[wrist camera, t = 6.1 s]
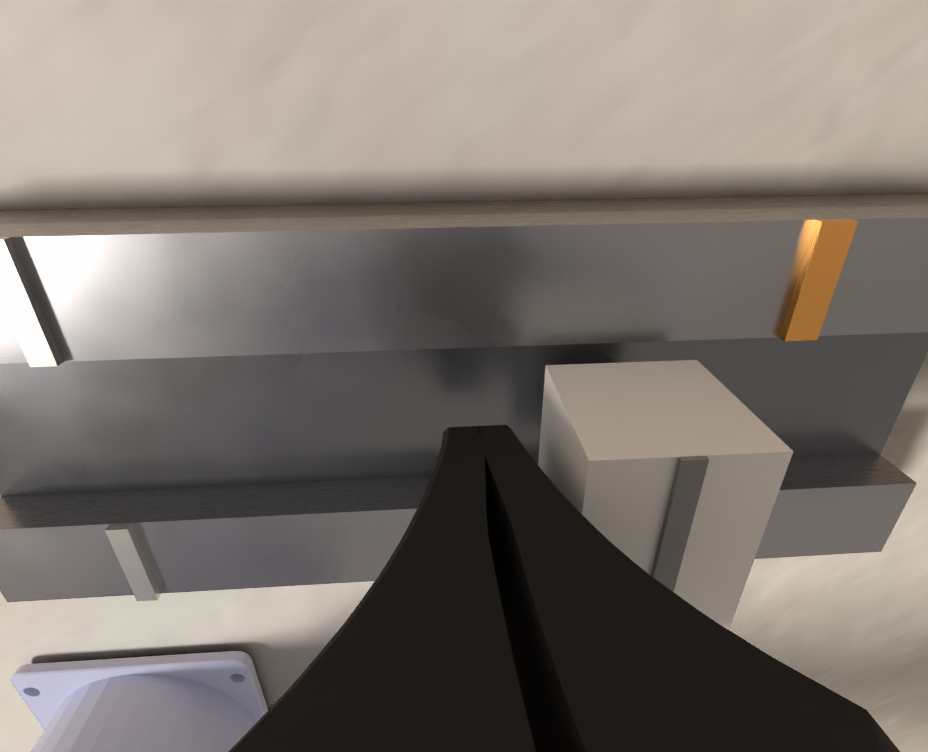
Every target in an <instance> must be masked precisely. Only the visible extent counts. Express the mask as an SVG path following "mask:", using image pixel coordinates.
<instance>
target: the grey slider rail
mask: <svg viewBox="0 0 928 752" xmlns="http://www.w3.org/2000/svg"><path fill="white" fill-rule="evenodd" d="M927 352H928V193H905V194H851V195H798V196H744V197H691V198H637V199H584V200H530V201H477V202H423V203H370V204H316V205H263V206H209V207H156V208H102V209H49V210H0V495H1V497H0V591H1V593H2V594H3V596H4V597H5V599H6V601H7V602H19V601H36V600H53V599H70V598H88V597H105V596H122V595H134V596H135V598H136V600H137V601H148V600H158V598H159V596H160V594H161V593H174V592H191V591H208V590H226V589H243V588H260V587H277V586H295V585H312V584H329V583H346V582H364V581H376V579H377V578H378V576H379V575H380V573H381V572H382V570H383V568H384V567H385V565H386V564H387V562H388V561H389V559H390V557H391V556H392V554H393V553H394V551H395V549H396V548H397V546H398V544H399V542H400V541H401V539H402V537H403V535H404V534H405V532H406V530H407V528H408V526H409V524H410V522H411V520H412V518H413V516H414V514H415V512H416V510H417V508H418V506H419V504H420V502H421V500H422V498H423V496H424V493H425V491H426V488H427V486H428V484H429V481H430V479H431V476H432V474H433V471H434V469H435V466H436V463H437V460H438V456H439V453H440V449H441V445H442V439H443V432H444V431H445V430H446V429H447V428H448V427H465V426H487V425H508V426H509V427H510V428H511V429H512V430H513V432H514V433H515V435H516V436H517V438H518V439H519V441H520V442H521V443H522V445H523V446H524V447H525V449H526V450H527V451H528V453H529V454H530V455H531V457H532V458H533V459H534V461H535V462H536V463H537V464H538V459H539V446H540V432H541V419H542V406H543V393H544V380H545V367H546V365H567V364H595V363H622V362H650V361H678V360H698V361H699V362H700V363H701V364H702V365H703V366H704V367H705V368H706V369H707V370H708V371H709V372H710V373H711V374H712V375H713V376H714V377H716V378H717V379H718V380H719V381H720V382H721V383H722V384H723V385H724V386H725V387H726V388H727V389H728V390H729V391H730V392H731V393H732V394H733V395H735V396H736V397H737V398H738V399H739V400H740V401H741V402H742V403H743V404H744V405H745V406H746V407H747V408H748V409H749V410H750V411H751V412H752V413H753V414H755V415H756V416H757V417H758V418H759V419H760V420H761V421H762V422H763V423H764V424H765V425H766V426H767V427H768V428H769V429H770V430H771V431H772V432H774V433H775V434H776V435H777V436H778V437H779V438H780V439H781V440H782V441H783V442H784V443H785V444H786V445H787V446H788V447H789V448H790V449H791V450H793V454H792V457H791V460H790V462H789V465H788V468H787V471H786V473H785V476H784V479H783V482H782V484H781V487H780V490H779V493H778V495H777V498H776V501H775V504H774V506H773V509H772V512H771V515H770V517H769V520H768V523H767V526H766V528H765V531H764V534H763V537H762V539H761V542H760V545H759V548H758V550H757V553H756V556H755V559H761V558H778V557H795V556H813V555H830V554H847V553H864V552H881V551H882V549H883V547H884V545H885V543H886V541H887V539H888V537H889V535H890V533H891V532H892V530H893V528H894V526H895V524H896V522H897V520H898V518H899V516H900V514H901V512H902V510H903V509H904V507H905V505H906V503H907V501H908V499H909V497H910V495H911V493H912V491H913V489H914V488H915V486H916V484H917V483H916V482H914V481H913V480H912V479H911V478H909V477H908V476H907V475H905V474H904V473H903V472H902V471H900V470H899V469H898V468H896V467H895V466H894V465H893V464H891V463H890V462H889V461H887V460H886V459H885V458H884V457H882V456H881V455H880V453H881V451H882V449H883V446H884V444H885V442H886V440H887V438H888V436H889V434H890V431H891V429H892V427H893V425H894V423H895V421H896V418H897V416H898V414H899V412H900V410H901V408H902V405H903V403H904V401H905V399H906V397H907V395H908V393H909V390H910V388H911V386H912V384H913V382H914V380H915V377H916V375H917V373H918V371H919V369H920V367H921V364H922V362H923V360H924V358H925V356H926V354H927Z"/></svg>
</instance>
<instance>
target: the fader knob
mask: <svg viewBox="0 0 928 752" xmlns="http://www.w3.org/2000/svg"><path fill="white" fill-rule="evenodd" d="M792 454H793V450H791V449H790V448H789V447H788V446H787V445H786V444H785V443H784V442H783V441H782V440H781V439H780V438H779V437H778V436H777V435H776V434H775V433H774V432H772V431H771V430H770V429H769V428H768V427H767V426H766V425H765V424H764V423H763V422H762V421H761V420H760V419H759V418H758V417H757V416H756V415H755V414H753V413H752V412H751V411H750V410H749V409H748V408H747V407H746V406H745V405H744V404H743V403H742V402H741V401H740V400H739V399H738V398H737V397H736V396H735V395H733V394H732V393H731V392H730V391H729V390H728V389H727V388H726V387H725V386H724V385H723V384H722V383H721V382H720V381H719V380H718V379H717V378H716V377H714V376H713V375H712V374H711V373H710V372H709V371H708V370H707V369H706V368H705V367H704V366H703V365H702V364H701V363H700V362H699V361H698V360H678V361H650V362H622V363H595V364H567V365H546V367H545V380H544V393H543V406H542V419H541V432H540V446H539V459H538V466H539V467H540V468H541V469H542V470H543V472H544V473H545V474H546V475H547V476H548V478H549V479H550V480H551V481H552V482H553V483H554V484H555V486H556V487H557V488H558V489H559V490H560V491H561V492H562V494H563V495H564V496H565V497H566V498H567V499H568V500H569V501H570V502H571V503H572V504H573V506H574V507H575V508H576V509H577V510H578V511H579V512H580V513H581V514H582V515H583V516H584V517H585V518H586V519H587V520H588V521H589V522H590V523H591V524H592V525H593V526H594V527H595V528H596V529H597V530H598V531H599V532H601V533H602V534H603V535H604V536H605V537H606V538H607V539H608V540H609V541H610V542H611V543H612V544H614V545H615V546H616V547H617V548H618V549H619V550H620V551H622V552H623V553H624V554H625V555H626V556H627V557H629V558H630V559H631V560H632V561H633V562H634V563H636V564H637V565H638V566H639V567H641V568H642V569H643V570H644V571H646V572H647V573H648V574H649V575H651V576H652V577H653V578H655V579H656V580H657V581H659V582H660V583H662V584H663V585H664V586H666V587H667V588H668V589H670V590H671V591H673V592H674V593H675V594H677V595H678V596H679V597H681V598H682V599H684V600H685V601H686V602H688V603H689V604H691V605H692V606H693V607H695V608H696V609H697V610H699V611H700V612H702V613H703V614H705V615H706V616H708V617H709V618H711V619H712V620H714V621H715V622H717V623H718V624H720V625H721V626H723V627H725V628H726V629H728V630H729V627H730V624H731V622H732V619H733V616H734V613H735V611H736V608H737V605H738V602H739V600H740V597H741V594H742V592H743V589H744V586H745V583H746V581H747V578H748V575H749V572H750V570H751V567H752V564H753V561H754V559H755V556H756V553H757V550H758V548H759V545H760V542H761V539H762V537H763V534H764V531H765V528H766V526H767V523H768V520H769V517H770V515H771V512H772V509H773V506H774V504H775V501H776V498H777V495H778V493H779V490H780V487H781V484H782V482H783V479H784V476H785V473H786V471H787V468H788V465H789V462H790V460H791V457H792Z"/></svg>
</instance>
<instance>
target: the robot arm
mask: <svg viewBox="0 0 928 752" xmlns="http://www.w3.org/2000/svg"><path fill="white" fill-rule="evenodd" d="M11 682H12V685H13V686H14V687H15V689H16V690H17V692H18V693H19V695H20V696H21V697H22V699H23V700H24V702H25V703H26V704H27V706H28V707H29V709H30V710H31V712H32V713H33V714H34V716H35V717H36V719H37V720H38V721H39V723H40V724H41V726H42V727H43V729H44V731H43V733H42V734H41V736H40V738H39V739H38V741H37V742H36V744H35V746H34V747H33V749H32V751H31V752H900V751H899V750H898V749H897V747H896V746H895V745H894V744H893V742H892V741H891V740H890V739H889V737H888V736H887V735H886V734H885V732H884V731H883V730H882V729H881V727H880V726H879V725H878V724H877V722H876V721H875V720H874V719H873V718H872V716H871V715H870V714H869V713H868V711H867V710H866V709H864V708H862V707H860V706H858V705H857V704H855V703H853V702H851V701H849V700H848V699H846V698H844V697H842V696H840V695H839V694H837V693H835V692H833V691H831V690H830V689H828V688H826V687H824V686H823V685H821V684H819V683H817V682H815V681H814V680H812V679H810V678H808V677H806V676H805V675H803V674H801V673H799V672H797V671H796V670H794V669H792V668H790V667H788V666H787V665H785V664H783V663H781V662H780V661H778V660H776V659H774V658H773V657H771V656H769V655H768V654H766V653H764V652H763V651H761V650H759V649H758V648H756V647H755V646H753V645H751V644H750V643H748V642H747V641H745V640H744V639H742V638H740V637H739V636H737V635H736V634H734V633H732V632H731V631H729V630H728V629H726V628H725V627H723V626H721V625H720V624H718V623H717V622H715V621H714V620H712V619H711V618H709V617H708V616H706V615H705V614H703V613H702V612H700V611H699V610H697V609H696V608H695V607H693V606H692V605H691V604H689V603H688V602H686V601H685V600H684V599H682V598H681V597H679V596H678V595H677V594H675V593H674V592H673V591H671V590H670V589H668V588H667V587H666V586H664V585H663V584H662V583H660V582H659V581H657V580H656V579H655V578H653V577H652V576H651V575H649V574H648V573H647V572H646V571H644V570H643V569H642V568H641V567H639V566H638V565H637V564H636V563H634V562H633V561H632V560H631V559H630V558H629V557H627V556H626V555H625V554H624V553H623V552H622V551H620V550H619V549H618V548H617V547H616V546H615V545H614V544H612V543H611V542H610V541H609V540H608V539H607V538H606V537H605V536H604V535H603V534H602V533H601V532H599V531H598V530H597V529H596V528H595V527H594V526H593V525H592V524H591V523H590V522H589V521H588V520H587V519H586V518H585V517H584V516H583V515H582V514H581V513H580V512H579V511H578V510H577V509H576V508H575V507H574V506H573V504H572V503H571V502H570V501H569V500H568V499H567V498H566V497H565V496H564V495H563V494H562V492H561V491H560V490H559V489H558V488H557V487H556V486H555V484H554V483H553V482H552V481H551V480H550V479H549V478H548V476H547V475H546V474H545V473H544V472H543V470H542V469H541V468H540V467H539V466H538V464H537V463H536V462H535V461H534V459H533V458H532V457H531V455H530V454H529V453H528V451H527V450H526V449H525V447H524V446H523V445H522V443H521V442H520V441H519V439H518V438H517V436H516V435H515V433H514V432H513V430H512V429H511V428H510V427H509V426H508V425H487V426H465V427H448V428H447V429H446V430H445V431H444V432H443V439H442V445H441V449H440V453H439V456H438V460H437V463H436V466H435V469H434V471H433V474H432V476H431V479H430V481H429V484H428V486H427V488H426V491H425V493H424V496H423V498H422V500H421V502H420V504H419V506H418V508H417V510H416V512H415V514H414V516H413V518H412V520H411V522H410V524H409V526H408V528H407V530H406V532H405V534H404V535H403V537H402V539H401V541H400V542H399V544H398V546H397V548H396V549H395V551H394V553H393V554H392V556H391V557H390V559H389V561H388V562H387V564H386V565H385V567H384V568H383V570H382V572H381V573H380V575H379V576H378V578H377V579H376V581H375V582H374V583H373V585H372V586H371V588H370V589H369V590H368V592H367V593H366V595H365V596H364V598H363V599H362V600H361V602H360V603H359V605H358V606H357V607H356V609H355V610H354V611H353V613H352V614H351V615H350V617H349V618H348V619H347V621H346V622H345V623H344V624H343V626H342V627H341V628H340V629H339V631H338V632H337V633H336V634H335V635H334V637H333V638H332V639H331V640H330V641H329V643H328V644H327V645H326V646H325V647H324V649H323V650H322V651H321V652H320V653H319V655H318V656H317V657H316V658H315V659H314V660H313V662H312V663H311V664H310V665H309V666H308V668H307V669H306V670H305V671H304V672H303V674H302V675H301V676H300V677H299V678H298V679H297V680H296V681H295V683H294V684H293V685H292V686H291V687H290V688H289V689H288V690H287V691H286V693H285V694H284V695H283V696H282V697H281V698H280V699H279V700H278V701H277V702H276V703H275V704H274V705H273V706H272V707H271V708H270V709H269V710H268V708H267V704H266V701H265V698H264V695H263V692H262V689H261V686H260V683H259V680H258V677H257V674H256V671H255V668H254V665H253V662H252V659H251V657H250V656H249V655H248V654H247V653H245V652H242V651H224V652H208V653H193V654H177V655H162V656H146V657H130V658H115V659H99V660H84V661H68V662H53V663H37V664H26V665H22V666H20V667H19V668H18V669H17V670H16V671H15V673H14V674H13V676H12V677H11Z"/></svg>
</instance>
